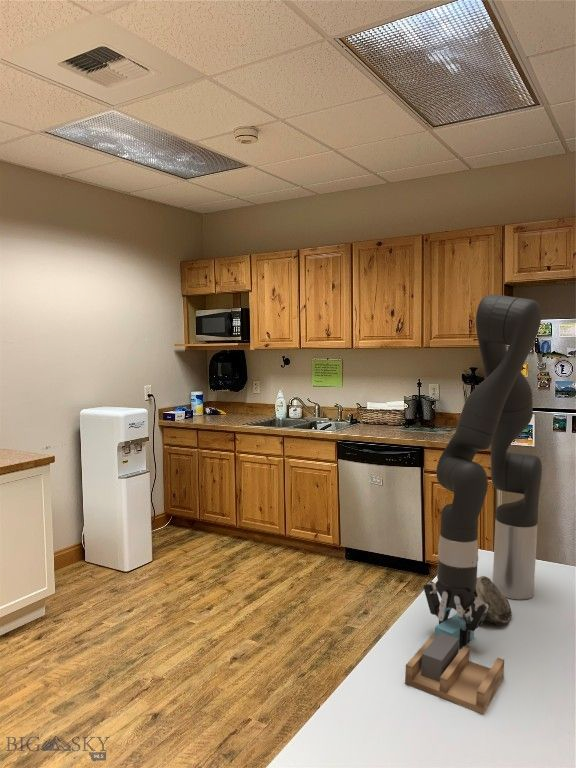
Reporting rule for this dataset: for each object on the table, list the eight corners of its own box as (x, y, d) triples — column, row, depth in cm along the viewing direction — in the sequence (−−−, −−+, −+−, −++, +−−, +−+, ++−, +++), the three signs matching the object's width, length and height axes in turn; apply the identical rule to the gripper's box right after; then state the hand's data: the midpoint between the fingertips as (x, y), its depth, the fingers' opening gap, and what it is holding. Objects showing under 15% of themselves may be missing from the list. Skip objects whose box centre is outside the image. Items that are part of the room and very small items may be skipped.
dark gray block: (439, 652, 110) (440, 632, 110) (458, 658, 108) (459, 638, 108) (421, 675, 103) (421, 653, 103) (440, 682, 101) (441, 660, 101)
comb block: (430, 652, 112) (431, 635, 112) (503, 678, 104) (504, 659, 104) (405, 683, 102) (405, 664, 102) (483, 714, 94) (484, 693, 94)
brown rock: (516, 630, 119) (494, 587, 120) (474, 644, 122) (453, 601, 122) (511, 605, 130) (491, 565, 130) (472, 618, 133) (452, 578, 133)
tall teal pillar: (457, 631, 120) (458, 612, 120) (473, 637, 118) (474, 618, 118) (434, 646, 114) (435, 626, 114) (450, 653, 112) (451, 633, 111)
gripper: (416, 553, 116) (412, 634, 118) (482, 575, 107) (478, 664, 108) (435, 543, 122) (432, 622, 123) (500, 563, 112) (496, 648, 113)
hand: (453, 641), depth 116 cm, fingers closed on tall teal pillar, 3 cm apart
